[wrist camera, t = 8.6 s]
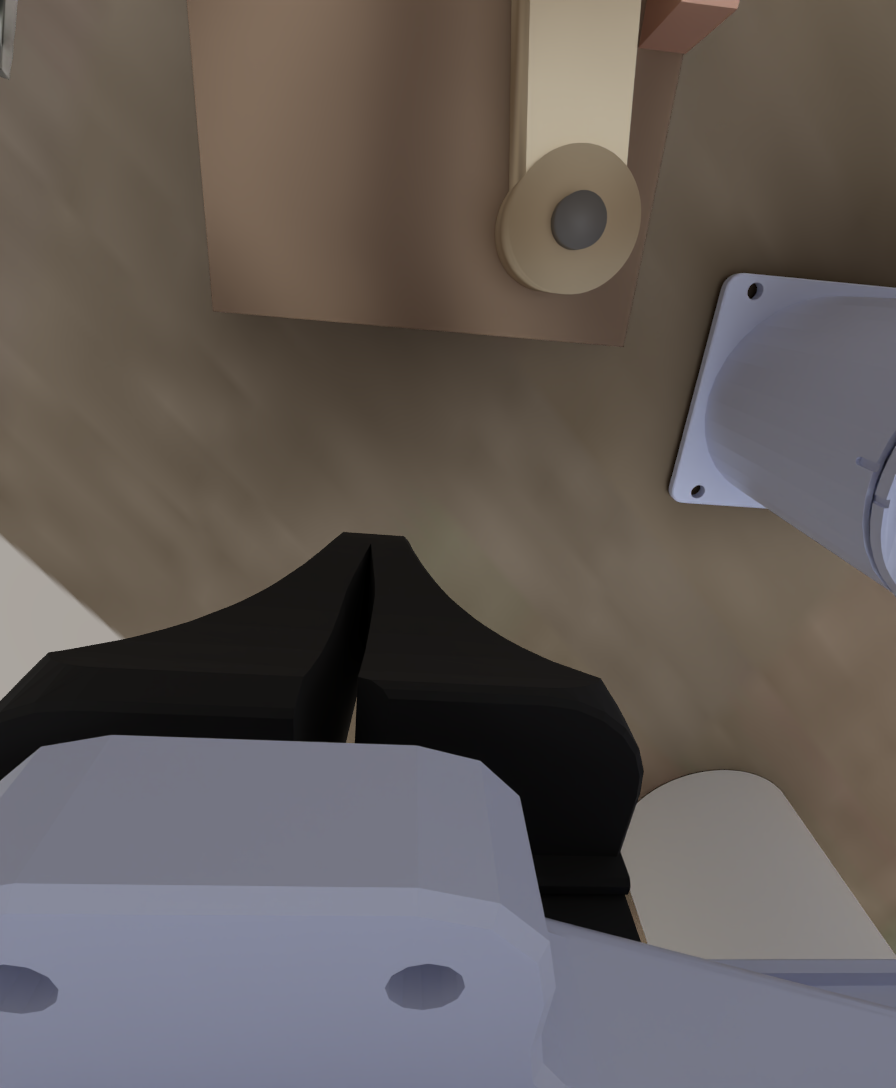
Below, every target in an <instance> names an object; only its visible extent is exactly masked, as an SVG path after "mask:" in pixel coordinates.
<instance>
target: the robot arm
mask: <svg viewBox="0 0 896 1088" xmlns="http://www.w3.org/2000/svg"><path fill="white" fill-rule="evenodd" d="M753 283H755V284H756V286H757V292H756V294H755V296H754V297H753V298H751V299H749V297H748V295H747V293H748V289H749V287H750V286H751V285H752V284H753ZM697 485H700V490H699V492H698V493H696V494H693V495H691V491H692V489H693V488H694V487H695V486H697ZM669 494H670V496H671V497H672V498H673V499H675V500H676V501H677V502H681V503H693V504H708V505H723V506H737V507H752V508H767V509H769V510H770V511H772V512H773V513H775V514H776V515H777V516H779V517H780V518H782V519H783V520H785V521H786V522H788V523H789V524H791V525H792V526H794V527H795V528H797V529H798V530H800V531H801V532H803V533H804V534H806V535H807V536H809V537H810V538H812V539H813V540H815V541H816V542H818V543H819V544H821V545H822V546H824V547H825V548H827V549H828V550H829V551H831V552H832V553H834V554H835V555H837V556H838V557H840V558H841V559H843V560H844V561H846V562H847V563H849V564H850V565H852V566H853V567H855V568H856V569H858V570H859V571H861V572H862V573H864V574H865V575H867V576H868V577H870V578H871V579H873V580H874V581H876V582H877V583H878V584H880V585H881V586H883V587H884V588H886V589H887V590H889V591H890V592H892V593H893V594H894V595H895V597H896V288H893V287H883V286H873V285H863V284H852V283H842V282H832V281H821V280H811V279H801V278H791V277H780V276H770V275H760V274H750V273H737V274H733V275H731V276H729V277H728V278H727V279H726V280H725V281H724V283H723V285H722V288H721V291H720V295H719V298H718V302H717V306H716V310H715V314H714V317H713V321H712V325H711V329H710V333H709V337H708V340H707V344H706V348H705V352H704V356H703V359H702V363H701V367H700V371H699V375H698V378H697V382H696V386H695V390H694V394H693V397H692V401H691V405H690V409H689V413H688V416H687V420H686V424H685V428H684V432H683V436H682V439H681V443H680V447H679V451H678V455H677V458H676V462H675V466H674V470H673V474H672V477H671V481H670V485H669ZM356 697H357V708H356V730H355V743H346V740H347V735H348V731H349V727H350V723H351V719H352V714H353V710H354V706H355V702H356ZM643 772H644V771H643V766H642V761H641V756H640V751H639V748H638V746H637V744H636V741H635V739H634V737H633V735H632V733H631V731H630V729H629V727H628V725H627V723H626V721H625V719H624V717H623V715H622V713H621V711H620V709H619V708H618V706H617V704H616V702H615V701H614V699H613V698H612V696H611V695H610V693H609V691H608V690H607V688H606V687H605V685H604V683H603V681H602V680H601V678H598V677H595V676H592V675H589V674H587V673H584V672H581V671H578V670H575V669H572V668H570V667H567V666H564V665H561V664H558V663H555V662H553V661H550V660H548V659H545V658H543V657H541V656H539V655H537V654H535V653H533V652H530V651H528V650H526V649H524V648H522V647H520V646H518V645H516V644H514V643H513V642H511V641H509V640H507V639H505V638H504V637H502V636H500V635H499V634H497V633H496V632H494V631H492V630H491V629H489V628H488V627H486V626H484V625H483V624H482V623H480V622H479V621H477V620H476V619H475V618H473V617H472V616H471V615H470V614H468V613H467V612H466V611H465V610H463V609H462V608H461V607H460V606H459V605H457V604H456V603H455V602H454V601H453V600H452V599H451V598H450V597H449V596H448V595H447V594H446V593H445V592H444V591H443V590H442V589H441V588H440V587H439V586H438V584H437V583H436V582H435V581H434V580H433V578H432V577H431V576H430V574H429V573H428V572H427V570H426V569H425V568H424V566H423V565H422V564H421V562H420V561H419V559H418V557H417V556H416V554H415V553H414V551H413V549H412V547H411V545H410V543H409V542H408V540H407V539H406V538H405V537H404V536H392V535H377V534H363V533H349V532H343V533H342V534H340V535H339V536H338V537H337V538H335V539H334V540H333V541H332V542H331V543H329V544H328V545H327V546H326V547H325V548H323V549H322V550H321V551H320V552H319V553H317V554H316V555H315V556H314V557H312V558H311V559H310V560H309V561H307V562H306V563H305V564H303V565H302V566H301V567H299V568H298V569H296V570H295V571H293V572H292V573H290V574H289V575H287V576H286V577H284V578H283V579H281V580H280V581H278V582H277V583H275V584H273V585H272V586H270V587H268V588H266V589H264V590H263V591H261V592H259V593H257V594H255V595H253V596H251V597H249V598H247V599H245V600H243V601H241V602H239V603H236V604H234V605H232V606H229V607H227V608H224V609H221V610H219V611H216V612H214V613H211V614H208V615H206V616H203V617H201V618H198V619H195V620H193V621H190V622H187V623H183V624H180V625H177V626H173V627H170V628H167V629H163V630H159V631H155V632H152V633H148V634H144V635H140V636H136V637H131V638H127V639H123V640H118V641H112V642H107V643H101V644H96V645H91V646H85V647H80V648H74V649H69V650H63V651H56V652H49V653H48V654H47V655H46V656H45V657H43V658H42V659H41V660H40V661H39V662H38V663H37V664H36V665H35V666H34V667H33V668H32V669H31V670H30V671H29V672H28V673H27V674H26V675H25V676H24V677H23V678H22V679H21V680H20V681H19V682H18V683H17V685H15V687H14V688H13V689H12V690H11V691H10V692H9V693H8V694H7V695H6V696H5V697H4V698H3V699H2V700H1V701H0V1088H896V959H703V958H700V957H696V956H692V955H688V954H684V953H680V952H676V951H672V950H669V949H665V948H661V947H657V946H653V945H649V944H645V943H641V941H640V938H639V935H638V932H637V929H636V926H635V923H634V921H633V918H632V915H631V912H630V909H629V906H628V903H627V900H626V897H625V894H626V895H628V893H629V890H630V887H631V886H630V877H629V874H628V871H627V868H626V866H625V863H624V860H623V857H622V855H621V852H620V851H621V848H622V845H623V842H624V839H625V836H626V833H627V830H628V828H629V825H630V822H631V819H632V816H633V813H634V810H635V807H636V804H637V801H638V798H639V795H640V790H641V784H642V778H643Z"/></svg>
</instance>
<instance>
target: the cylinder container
mask: <svg viewBox="0 0 896 1088" xmlns="http://www.w3.org/2000/svg"><path fill="white" fill-rule="evenodd" d="M620 852H621V855H622V857H623V860H624V863H625V866H626V868H627V871H628V874H629V877H630V886H631V887H630V892H631V895H632V898H633V901H634V904H635V907H636V910H637V913H638V916H639V919H640V922H641V925H642V928H643V931H644V934H645V937H646V940H647V943H648V944H649V945H653V946H657V947H661V948H665V949H669V950H672V951H676V952H680V953H684V954H688V955H692V956H696V957H700V958H703V959H896V955H895V954H894V952H893V951H892V950H891V948H890V947H889V945H888V944H887V942H886V941H885V939H884V938H883V937H882V935H881V934H880V932H879V931H878V929H877V928H876V927H875V925H874V924H873V922H872V921H871V919H870V918H869V916H868V915H867V914H866V912H865V911H864V909H863V908H862V906H861V905H860V903H859V902H858V901H857V899H856V898H855V896H854V895H853V893H852V892H851V891H850V889H849V888H848V886H847V885H846V883H845V882H844V880H843V879H842V878H841V876H840V875H839V873H838V872H837V870H836V869H835V867H834V866H833V865H832V863H831V862H830V860H829V859H828V857H827V856H826V855H825V853H824V852H823V850H822V849H821V847H820V846H819V844H818V843H817V842H816V840H815V839H814V837H813V836H812V834H811V833H810V832H809V830H808V829H807V827H806V826H805V824H804V823H803V821H802V820H801V819H800V817H799V816H798V814H797V813H796V811H795V810H794V808H793V807H792V806H791V804H790V803H789V801H788V800H787V798H786V797H785V796H784V794H783V793H782V791H781V790H780V789H779V788H778V787H777V786H775V785H774V784H773V783H772V782H770V781H768V780H766V779H764V778H762V777H760V776H758V775H755V774H751V773H747V772H742V771H734V770H714V771H705V772H700V773H695V774H690V775H687V776H684V777H681V778H678V779H675V780H673V781H670V782H668V783H666V784H664V785H662V786H660V787H658V788H657V789H655V790H653V791H652V792H650V793H649V794H648V795H646V796H645V797H644V798H642V799H641V800H640V801H639V802H638V803H637V804H636V807H635V810H634V813H633V816H632V819H631V822H630V825H629V828H628V830H627V833H626V836H625V839H624V842H623V845H622V848H621V851H620Z"/></svg>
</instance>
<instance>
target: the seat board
mask: <svg viewBox="0 0 896 1088" xmlns="http://www.w3.org/2000/svg"><path fill="white" fill-rule="evenodd" d="M646 2H647V0H641V10H640V21H639V33H638V44H637V56H636V67H635V78H634V90H633V101H632V113H631V124H630V135H629V147H628V158H627V167H628V168H629V170H630V171H631V173H632V175H633V177H634V179H635V181H636V184H637V187H638V190H639V195H640V200H641V223H640V229H639V233H638V237H637V240H636V243H635V245H634V248H633V250H632V252H631V254H630V256H629V258H628V259H627V261H626V262H625V264H624V265H623V266H622V267H621V269H620V270H619V271H618V272H617V273H616V274H615V275H614V276H613V277H612V278H611V279H610V280H608V281H607V282H605V283H604V284H603V285H601V286H599V287H597V288H595V289H593V290H590V291H588V292H584V293H580V294H557V293H548V292H540V291H534V290H531V289H528V288H526V287H524V286H522V285H520V284H519V283H517V282H516V281H515V280H514V279H513V278H512V277H511V276H510V275H509V274H508V273H507V272H506V270H505V269H504V267H503V265H502V263H501V261H500V259H499V256H498V253H497V249H496V243H495V225H496V219H497V215H498V212H499V209H500V206H501V204H502V202H503V200H504V198H505V197H506V195H507V193H508V192H509V155H510V81H511V7H512V0H187V10H188V21H189V33H190V45H191V57H192V69H193V81H194V93H195V104H196V116H197V128H198V140H199V152H200V164H201V175H202V187H203V199H204V211H205V223H206V235H207V247H208V258H209V270H210V282H211V294H212V306H213V311H215V312H226V313H238V314H249V315H261V316H272V317H284V318H295V319H307V320H318V321H330V322H341V323H353V324H364V325H376V326H387V327H399V328H410V329H422V330H433V331H445V332H457V333H468V334H480V335H491V336H503V337H514V338H526V339H537V340H549V341H560V342H572V343H583V344H595V345H606V346H618V347H624V343H625V338H626V333H627V328H628V323H629V318H630V314H631V309H632V304H633V299H634V294H635V289H636V284H637V279H638V274H639V270H640V265H641V260H642V255H643V250H644V245H645V240H646V235H647V230H648V226H649V221H650V216H651V211H652V206H653V201H654V196H655V191H656V186H657V182H658V177H659V172H660V167H661V162H662V157H663V152H664V147H665V142H666V138H667V133H668V128H669V123H670V118H671V113H672V108H673V103H674V98H675V94H676V89H677V84H678V79H679V74H680V69H681V64H682V59H683V53H674V52H666V51H658V50H650V49H642V48H638V47H639V41H640V36H641V30H642V25H643V19H644V13H645V8H646Z"/></svg>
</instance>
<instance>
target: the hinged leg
mask: <svg viewBox="0 0 896 1088" xmlns="http://www.w3.org/2000/svg"><path fill="white" fill-rule="evenodd" d="M640 10H641V0H512V7H511V81H510V155H509V192H508V193H507V195H506V197H505V198H504V200H503V202H502V204H501V206H500V209H499V212H498V215H497V219H496V225H495V243H496V249H497V253H498V256H499V259H500V261H501V263H502V265H503V267H504V269H505V270H506V272H507V273H508V274H509V275H510V276H511V277H512V278H513V279H514V280H515V281H516V282H517V283H519V284H520V285H522V286H524V287H526V288H528V289H531V290H534V291H540V292H548V293H557V294H580V293H584V292H588V291H590V290H593V289H595V288H597V287H599V286H601V285H603V284H604V283H605V282H607V281H608V280H610V279H611V278H612V277H613V276H614V275H615V274H616V273H617V272H618V271H619V270H620V269H621V267H622V266H623V265H624V264H625V262H626V261H627V259H628V258H629V256H630V254H631V252H632V250H633V248H634V245H635V243H636V240H637V237H638V233H639V229H640V223H641V200H640V195H639V190H638V187H637V184H636V181H635V179H634V177H633V175H632V173H631V171H630V170H629V168H628V167H627V158H628V147H629V135H630V124H631V113H632V101H633V90H634V78H635V67H636V56H637V44H638V33H639V21H640Z"/></svg>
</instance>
